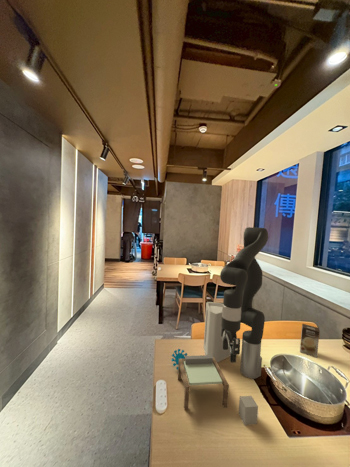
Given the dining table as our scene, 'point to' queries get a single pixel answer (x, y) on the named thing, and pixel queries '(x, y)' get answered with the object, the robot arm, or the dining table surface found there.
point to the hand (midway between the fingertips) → (228, 355)
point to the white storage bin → (214, 332)
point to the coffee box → (309, 340)
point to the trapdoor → (201, 370)
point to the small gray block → (248, 410)
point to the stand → (186, 398)
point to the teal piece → (178, 357)
